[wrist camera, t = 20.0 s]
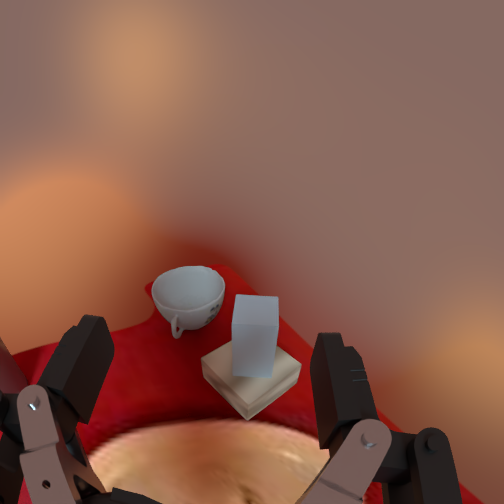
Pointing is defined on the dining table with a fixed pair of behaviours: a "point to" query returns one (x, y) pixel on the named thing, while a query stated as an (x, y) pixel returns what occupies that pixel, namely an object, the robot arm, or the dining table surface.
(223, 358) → the birch block
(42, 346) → the dining table surface
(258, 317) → the pale blue tall cuboid
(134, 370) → the dining table surface
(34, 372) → the dining table surface
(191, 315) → the teacup
